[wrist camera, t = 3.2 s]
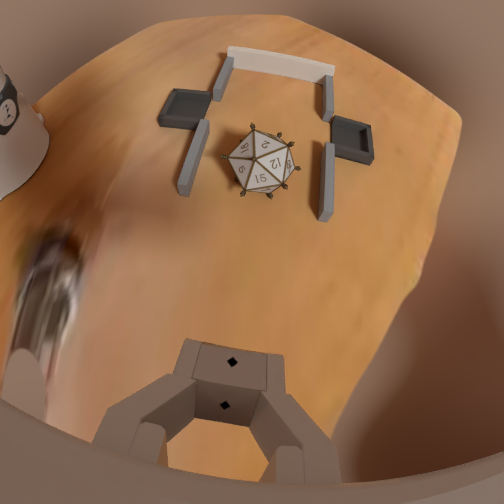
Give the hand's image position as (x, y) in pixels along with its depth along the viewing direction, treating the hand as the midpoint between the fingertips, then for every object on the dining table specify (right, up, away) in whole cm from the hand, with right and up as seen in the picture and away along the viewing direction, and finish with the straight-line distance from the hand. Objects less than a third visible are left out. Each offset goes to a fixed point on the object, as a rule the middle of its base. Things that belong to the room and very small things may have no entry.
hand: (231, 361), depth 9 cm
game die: (+1, +12, +29) cm, 32 cm away
